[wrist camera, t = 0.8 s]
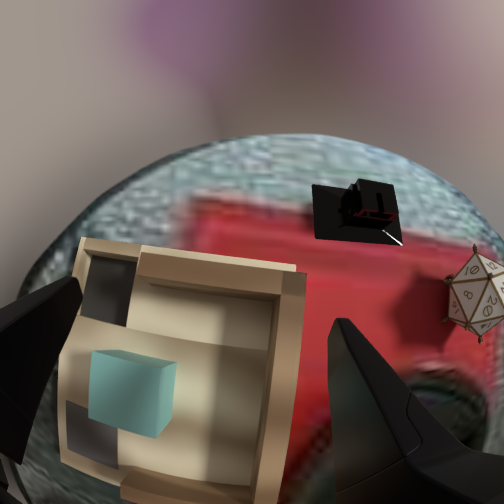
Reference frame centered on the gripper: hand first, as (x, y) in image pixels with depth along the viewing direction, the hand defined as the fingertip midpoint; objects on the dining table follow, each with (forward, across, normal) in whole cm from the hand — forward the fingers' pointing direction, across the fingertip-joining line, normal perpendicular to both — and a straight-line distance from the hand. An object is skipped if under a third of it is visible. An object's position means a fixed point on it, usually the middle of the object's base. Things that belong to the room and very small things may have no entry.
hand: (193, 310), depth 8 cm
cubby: (+3, 0, +12) cm, 12 cm away
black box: (+18, -11, +3) cm, 21 cm away
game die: (+12, -23, +8) cm, 27 cm away
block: (+3, +5, +12) cm, 13 cm away
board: (+4, +4, +13) cm, 14 cm away
